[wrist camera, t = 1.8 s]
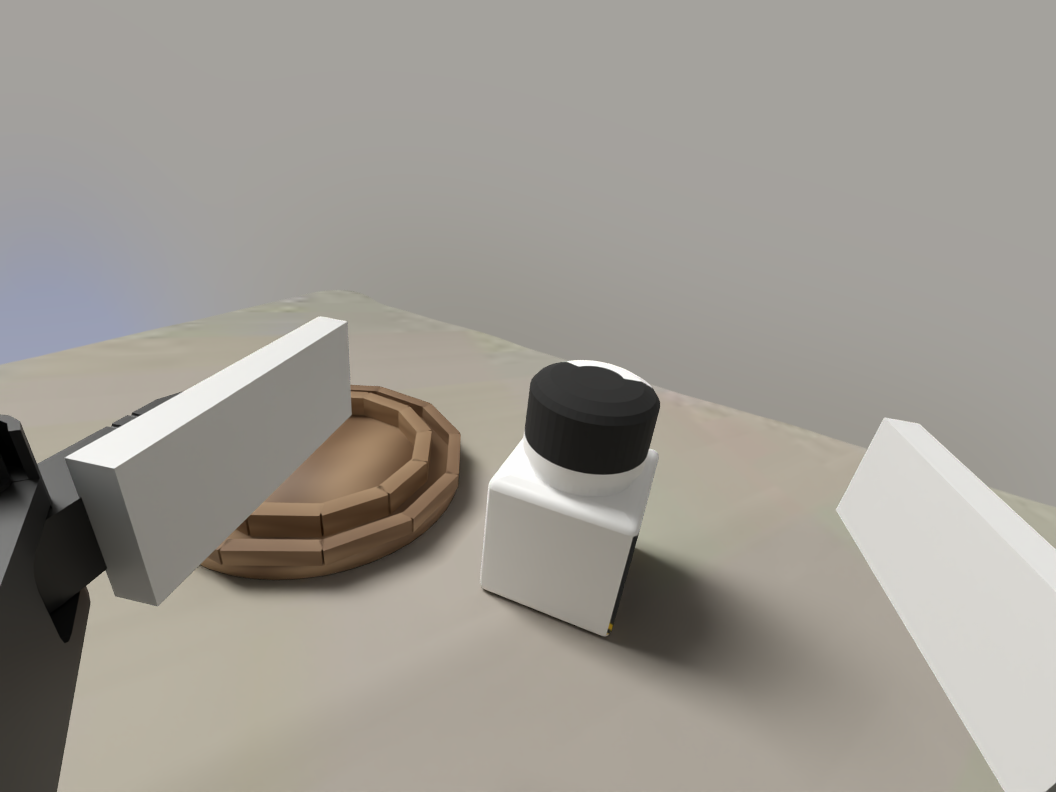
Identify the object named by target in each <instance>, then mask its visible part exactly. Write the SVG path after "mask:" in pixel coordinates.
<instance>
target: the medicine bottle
mask: <svg viewBox="0 0 1056 792" xmlns="http://www.w3.org/2000/svg"><path fill="white" fill-rule="evenodd" d="M659 409H660V401H659V398H658V396H657V395H656V393H655V391H654V389H653V388H652V387H651V386H650V385H649V384H648V383H647V382H646V381H645V380H643V379H642V378H640V377H639V376H637V375H635V374H633V373H631V372H629V371H627V370H625V369H623V368H621V367H618V366H615V365H612V364H608V363H603V362H598V361H589V360H575V361H566V362H559V363H555V364H552V365H549V366H547V367H545V368H543V369H542V370H541V371H540V372H538V373H537V374H536V375H535V376H534V377H533V379H532V380H531V383H530V391H529V399H528V407H527V415H526V424H525V432H524V438H523V439H522V440H521V441H520V443H519V444H518V445H517V447H516V448H515V449H514V451H513V452H512V453H511V454H510V456H509V457H508V458H507V460H506V461H505V462H504V464H503V465H502V466H501V467H500V469H499V470H498V471H497V473H496V474H495V475H494V476H493V478H492V479H491V480H490V483H489V486H488V496H487V507H486V518H485V530H484V541H483V552H482V563H481V574H480V585H481V587H482V588H483V589H485V590H488V591H490V592H493V593H495V594H498V595H500V596H503V597H505V598H508V599H510V600H513V601H515V602H518V603H520V604H523V605H525V606H528V607H530V608H533V609H535V610H538V611H540V612H543V613H545V614H548V615H550V616H553V617H556V618H558V619H561V620H563V621H566V622H568V623H571V624H573V625H576V626H578V627H581V628H583V629H586V630H588V631H591V632H593V633H596V634H598V635H601V636H608V635H609V634H610V632H611V631H612V627H613V624H614V620H615V616H616V613H617V609H618V606H619V602H620V599H621V595H622V591H623V588H624V584H625V581H626V577H627V574H628V570H629V566H630V563H631V559H632V556H633V552H634V549H635V545H636V541H637V538H638V534H639V531H640V527H641V523H642V519H643V516H644V512H645V508H646V504H647V500H648V497H649V493H650V489H651V485H652V482H653V478H654V474H655V470H656V466H657V463H658V459H659V456H658V453H657V452H656V451H655V450H652V449H649V447H650V443H651V439H652V436H653V432H654V428H655V424H656V421H657V417H658V413H659Z"/></svg>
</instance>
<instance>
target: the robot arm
mask: <svg viewBox="0 0 1056 792" xmlns="http://www.w3.org/2000/svg"><path fill="white" fill-rule="evenodd" d="M351 415H352V410H351V388H350V366H349V345H348V323H347V321H342V320H337V319H331V318H326V317H320V316H319V317H317V318H315V319H313V320H312V321H310V322H308V323H306V324H304V325H303V326H301V327H299V328H297V329H295V330H294V331H292V332H290V333H288V334H286V335H285V336H283V337H281V338H279V339H277V340H276V341H274V342H272V343H270V344H268V345H267V346H265V347H263V348H261V349H259V350H258V351H256V352H254V353H252V354H250V355H249V356H247V357H245V358H243V359H241V360H240V361H238V362H236V363H234V364H232V365H231V366H229V367H227V368H225V369H223V370H222V371H220V372H218V373H216V374H214V375H213V376H211V377H209V378H207V379H205V380H204V381H202V382H200V383H198V384H196V385H195V386H193V387H191V388H189V389H187V390H186V391H183V392H179V393H176V394H173V395H170V396H167V397H163V398H160V399H157V400H155V401H153V402H151V403H149V404H147V405H146V406H144V407H142V408H140V409H138V410H136V411H134V412H133V413H132V415H131V416H128V415H127V416H125V417H123V418H121V419H120V420H118V421H116V422H114V423H112V426H111V427H105V428H103V429H101V430H99V431H97V432H96V433H94V434H92V435H90V436H88V437H86V438H84V439H83V440H81V441H79V442H77V443H75V444H73V445H71V446H70V447H68V448H66V449H64V450H62V451H60V452H58V453H57V454H55V455H53V456H51V457H49V458H47V459H45V460H44V461H42V462H40V463H38V464H37V463H36V460H35V458H34V455H33V453H32V450H31V448H30V445H29V443H28V440H27V438H26V435H25V433H24V430H23V428H22V425H21V423H20V421H18V420H17V419H15V418H13V417H11V416H8V415H0V792H57V788H58V782H59V776H60V771H61V765H62V760H63V754H64V748H65V743H66V737H67V732H68V726H69V720H70V715H71V709H72V703H73V698H74V692H75V687H76V681H77V675H78V670H79V664H80V659H81V653H82V647H83V642H84V636H85V631H86V625H87V619H88V614H89V608H90V597H89V592H88V590H87V587H86V585H88V584H89V583H90V582H91V581H92V580H94V579H95V578H96V577H97V576H99V575H100V574H101V573H102V572H103V571H105V570H106V572H107V575H108V578H109V580H110V583H111V586H112V589H113V591H114V594H115V596H117V597H121V598H125V599H129V600H134V601H138V602H142V603H146V604H150V605H154V606H159V605H160V604H161V603H162V602H163V601H164V600H165V599H166V598H167V597H168V596H169V595H170V594H171V593H172V592H173V591H174V590H175V589H176V588H177V587H178V586H179V585H180V584H181V583H182V582H183V581H184V580H185V579H186V578H187V577H188V576H189V575H190V574H191V573H192V572H193V571H194V570H195V569H196V568H197V567H198V566H199V565H200V564H201V563H202V562H203V561H204V560H205V559H206V558H207V557H208V556H209V555H210V554H211V553H212V552H213V551H214V550H215V549H216V548H217V547H218V546H219V545H220V544H221V543H222V542H223V541H224V540H225V539H226V538H227V537H228V536H229V535H230V534H231V533H233V532H234V531H235V530H236V529H237V528H238V527H239V526H240V525H241V524H242V523H243V522H244V521H245V520H246V519H247V518H248V517H249V516H250V515H251V514H252V513H253V512H254V511H255V510H256V509H257V508H258V507H259V506H260V505H261V504H262V503H263V502H264V501H265V500H266V499H267V498H268V497H269V496H270V495H271V494H272V493H273V492H274V491H275V490H276V489H277V488H278V487H279V486H280V485H281V484H282V483H283V482H284V481H285V480H286V479H287V478H288V477H289V476H290V475H291V474H292V473H293V472H294V471H295V470H296V469H297V468H298V467H299V466H300V465H301V464H302V463H303V462H304V461H305V460H306V459H307V458H308V457H309V456H310V455H311V454H312V453H313V452H314V451H315V450H316V449H317V448H319V447H320V446H321V445H322V444H323V443H324V442H325V441H326V440H327V439H328V438H329V437H330V436H331V435H332V434H333V433H334V432H335V431H336V430H337V429H338V428H339V427H340V426H341V425H342V424H343V423H344V422H345V421H346V420H347V419H348V418H349V417H350V416H351ZM836 511H837V512H838V514H839V516H840V518H841V519H842V521H843V523H844V524H845V526H846V528H847V529H848V531H849V533H850V534H851V536H852V538H853V539H854V541H855V543H856V544H857V546H858V548H859V549H860V551H861V553H862V554H863V556H864V558H865V559H866V561H867V563H868V564H869V566H870V568H871V569H872V571H873V573H874V574H875V576H876V578H877V579H878V581H879V583H880V584H881V586H882V588H883V589H884V591H885V593H886V594H887V596H888V598H889V599H890V601H891V603H892V604H893V606H894V608H895V609H896V611H897V613H898V614H899V616H900V618H901V619H902V621H903V623H904V625H905V626H906V628H907V630H908V631H909V633H910V635H911V636H912V638H913V640H914V641H915V643H916V645H917V646H918V648H919V650H920V651H921V653H922V655H923V656H924V658H925V660H926V661H927V663H928V665H929V666H930V668H931V670H932V671H933V673H934V675H935V676H936V678H937V680H938V681H939V683H940V685H941V686H942V688H943V690H944V691H945V693H946V695H947V696H948V698H949V700H950V701H951V703H952V705H953V706H954V708H955V710H956V711H957V713H958V715H959V716H960V718H961V720H962V721H963V723H964V725H965V726H966V728H967V730H968V731H969V733H970V735H971V737H972V738H973V740H974V742H975V743H976V745H977V747H978V748H979V750H980V752H981V753H982V755H983V757H984V758H985V760H986V762H987V763H988V765H989V767H990V768H991V770H992V772H993V773H994V775H995V777H996V778H997V780H998V782H999V783H1000V785H1001V787H1002V788H1003V790H1004V792H1056V549H1055V548H1054V547H1053V546H1052V545H1050V544H1049V543H1048V542H1047V541H1046V540H1045V539H1044V538H1043V537H1042V536H1041V535H1040V534H1038V533H1037V532H1036V531H1035V530H1034V529H1033V528H1032V527H1031V526H1030V525H1029V524H1028V523H1027V522H1025V521H1024V520H1023V519H1022V518H1021V517H1020V516H1019V515H1018V514H1017V513H1016V512H1015V511H1013V510H1012V509H1011V508H1010V507H1009V506H1008V505H1007V504H1006V503H1005V502H1004V501H1003V500H1001V499H1000V498H999V497H998V496H997V495H996V494H995V493H994V492H993V491H992V490H991V489H990V488H988V487H987V486H986V485H985V484H984V483H983V482H982V481H981V480H980V479H979V478H978V477H976V476H975V475H974V474H973V473H972V472H971V471H970V470H969V469H968V468H966V467H965V466H964V465H963V464H962V463H961V462H960V461H959V460H958V459H957V458H956V457H955V456H954V455H952V454H951V453H950V452H949V451H948V450H947V449H946V448H945V447H944V446H943V445H942V444H940V443H939V442H938V441H937V440H936V439H935V438H934V437H933V436H932V435H931V434H930V433H929V432H927V431H926V430H925V429H924V428H923V427H922V426H921V425H920V424H917V423H912V422H906V421H901V420H896V419H890V418H884V419H883V421H882V423H881V425H880V427H879V429H878V430H877V432H876V434H875V436H874V438H873V440H872V442H871V444H870V446H869V448H868V450H867V451H866V453H865V455H864V457H863V459H862V461H861V463H860V465H859V467H858V469H857V471H856V473H855V474H854V476H853V478H852V480H851V482H850V484H849V486H848V488H847V490H846V492H845V494H844V496H843V497H842V499H841V501H840V503H839V505H838V507H837V509H836Z"/></svg>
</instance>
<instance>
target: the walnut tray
mask: <svg viewBox="0 0 1056 792" xmlns="http://www.w3.org/2000/svg"><path fill="white" fill-rule="evenodd" d="M350 388H351V410H352V415H351V416H350V417H349V418H348V419H347V420H346V421H345V422H344V423H343V424H342V425H341V426H340V427H339V428H338V429H337V430H336V431H335V432H334V433H333V434H332V435H331V436H330V437H329V438H328V439H327V440H326V441H325V442H324V443H323V444H322V445H321V446H320V447H319V448H317V449H316V450H315V451H314V452H313V453H312V454H311V455H310V456H309V457H308V458H307V459H306V460H305V461H304V462H303V463H302V464H301V465H300V466H299V467H298V468H297V469H296V470H295V471H294V472H293V473H292V474H291V475H290V476H289V477H288V478H287V479H286V480H285V481H284V482H283V483H282V484H281V485H280V486H279V487H278V488H277V489H276V490H275V491H274V492H273V493H272V494H271V495H270V496H269V497H268V498H267V499H266V500H265V501H264V502H263V503H262V504H261V505H260V506H259V507H258V508H257V509H256V510H255V511H254V512H253V513H252V514H251V515H250V516H249V517H248V518H247V519H246V520H245V521H244V522H243V523H242V524H241V525H240V526H239V527H238V528H237V529H236V530H235V531H234V532H233V533H231V534H230V535H229V536H228V537H227V538H226V539H225V540H224V541H223V542H222V543H221V544H220V545H219V546H218V547H217V548H216V549H215V550H214V551H213V552H212V553H211V554H210V555H209V556H208V557H207V558H206V559H205V560H204V561H203V562H202V563H201V564H200V565H202V566H204V567H206V568H208V569H211V570H214V571H218V572H221V573H224V574H228V575H233V576H239V577H245V578H251V579H269V580H284V579H302V578H309V577H316V576H323V575H328V574H333V573H337V572H341V571H345V570H350V569H353V568H356V567H359V566H362V565H365V564H368V563H371V562H373V561H375V560H378V559H380V558H382V557H384V556H387V555H389V554H391V553H393V552H395V551H397V550H398V549H400V548H402V547H404V546H406V545H407V544H409V543H411V542H412V541H413V540H415V539H416V538H418V537H419V536H420V535H422V534H423V533H424V532H426V531H427V530H428V529H429V528H430V527H431V526H432V525H433V524H434V523H435V522H436V521H437V520H438V519H439V518H440V517H441V515H442V514H443V513H444V512H445V511H446V509H447V508H448V506H449V504H450V502H451V501H452V499H453V497H454V494H455V491H456V489H457V488H458V482H459V461H460V437H461V434H460V432H459V431H458V430H457V429H456V428H455V427H454V426H453V425H452V424H451V423H450V422H449V421H448V420H447V419H446V418H445V417H444V416H443V415H442V414H441V413H440V412H439V411H438V410H437V409H436V408H435V407H434V406H433V405H432V404H430V403H428V402H425V401H422V400H419V399H416V398H413V397H410V396H407V395H404V394H401V393H398V392H396V391H393V390H390V389H387V388H384V387H380V386H360V385H350Z"/></svg>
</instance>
